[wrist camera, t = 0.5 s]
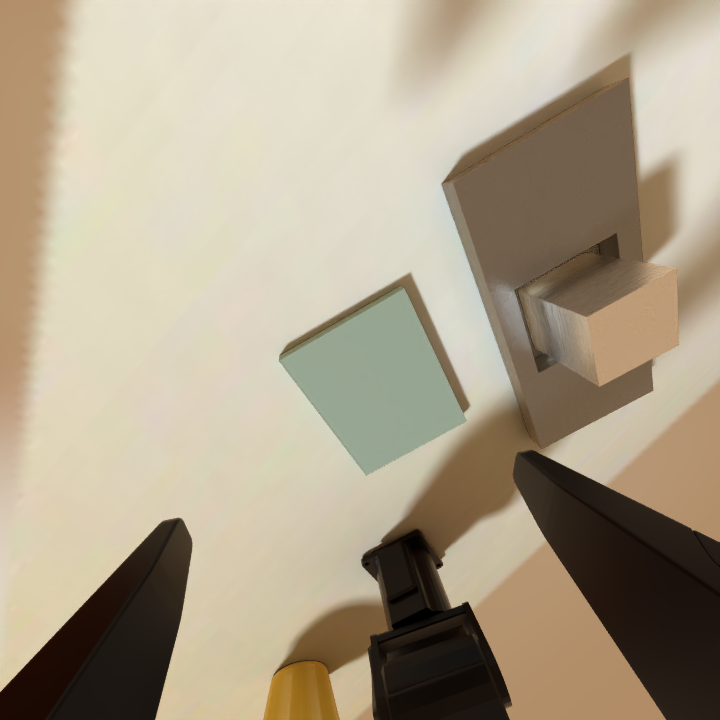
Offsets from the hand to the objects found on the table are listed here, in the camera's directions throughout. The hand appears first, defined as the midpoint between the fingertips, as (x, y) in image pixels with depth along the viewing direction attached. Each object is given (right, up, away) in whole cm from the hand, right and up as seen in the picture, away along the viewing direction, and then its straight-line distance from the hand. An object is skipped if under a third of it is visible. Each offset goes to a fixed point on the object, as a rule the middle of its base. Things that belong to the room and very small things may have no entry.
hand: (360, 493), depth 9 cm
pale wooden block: (+14, +8, +15) cm, 22 cm away
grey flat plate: (+14, +8, +14) cm, 21 cm away
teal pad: (+1, +1, +15) cm, 15 cm away
